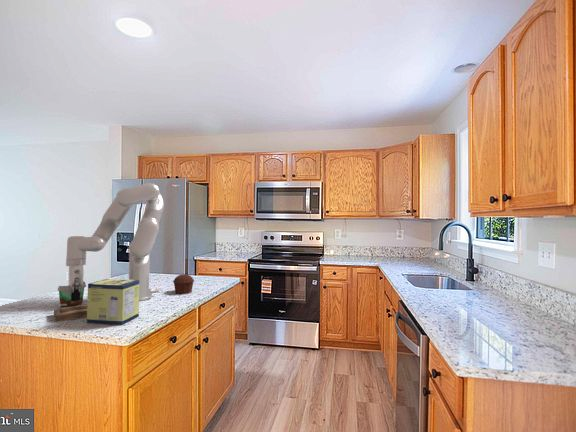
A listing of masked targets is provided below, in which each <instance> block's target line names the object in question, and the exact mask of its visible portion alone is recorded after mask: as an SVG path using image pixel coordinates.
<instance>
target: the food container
mask: <svg viewBox="0 0 576 432" xmlns="http://www.w3.org/2000/svg"><path fill="white" fill-rule="evenodd" d="M73 286H75V285H73ZM86 287H87V284H86V282H85V281H84V280H83V286H82V287H81V286H80V300H78V301H71V292H72V287H70V286H69V284H68V285H58V287H57V289H56V290H57V291H58V295H59V296H58V297H59V308H66V307H73V306H80V305H83V300H84V294H85V288H86Z"/></svg>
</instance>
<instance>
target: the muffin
mask: <svg viewBox="0 0 576 432" xmlns="http://www.w3.org/2000/svg"><path fill="white" fill-rule="evenodd" d="M194 281H195V280H194V278H193V277H192V276H191V275H190V274H186V273H185V274H183V273H182V274H179V275H177V276H176V277H175V278H174V280H172V284H174V293H175V294H176V295H187V294H191V293H192V290H193V285H194Z"/></svg>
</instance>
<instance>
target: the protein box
mask: <svg viewBox="0 0 576 432" xmlns="http://www.w3.org/2000/svg"><path fill="white" fill-rule="evenodd" d="M86 303H87V317H86V323H87V324H95V325H98V324H99V325H114V326H116V325H117V326H123V325H124V324H126V323H129V322H130V321H132V320H135V319H136V318H137V319H138V318H139V316H140V314H139V313H140V301H139V280H129V279H120V278H119V279H116V278H105V279H102V280H98V281H94V282H89V283H87V301H86Z"/></svg>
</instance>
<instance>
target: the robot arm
mask: <svg viewBox="0 0 576 432" xmlns="http://www.w3.org/2000/svg"><path fill="white" fill-rule="evenodd" d="M160 191H161V190H160V188H159V186H158V185H156V184H155V183H153V182H152V183H151V182H148V183H143V184H139V185H135V186H131V187H126V188H122V189H120V190H118V192H117V193H116V196H115V198H114V199H113V200H112V202H111V204H110V205H109V207H107V210H105V212H104V213H103V216H102V218H101V221H100V223H99V224H98V227H97V228H96V229H95V231H94V232H93V234H92V235H91V236H84V235H83V236H82V235H75V236H73V235H72V236H69V237H67V241H66V242H67V243H66V257H65V258H66V260H65V266H66V267H68V285H69V286H70V287H72V292H71V301H78V300H80V286H81V287H82V286H83V281H84V266H85V265H87V263H86V262H87V261H86V260H87V252H93V253H94V252H95V253H97V252H100V251H102V250H104V248H105V247H106V245H107V243H108V242H109V241H110V239H111V238H112V236H113V235H114V233H115V231H116V230H117V229H118V227H119V226H120V225H121V224H122V223H123V221H124V220H125V217H127V214H128V213H129V212H130V210H131V209H132V207H133V206H134V205H136V204H140V203H143V202H144V203H145V202H146V206H145V209H144V212H143V214H142V217H141V219H140V221H139V222H138V224H137V225H138V226H137V229H136V231H135V234H134V237H133V239H132V240H131V242H130V244H129V247H128V248H129V250H128V251H129V253H128V255H129V256H128V257H129V258H128V260H129V261H128V262H129V264H128V280H139V302H141V301H145V300H146V301H147V300H149V299H151V298H152V297H153V295H152V294H157V293H159V292H160V291H159V288H150V267H151V266H150V265H151V264H150V263H151V262H150V260H151V259H150V258H151V257H150V256H151V255H150V254H151V251H152V249H153V247H154V244H155V242H156V239H157V236H158V234H159V230H160V225H159V224H160V220H161V218H162V215H163V211H164V208H165V202H164V199H163V196H162V194H161V192H160ZM73 285H75V286H73Z"/></svg>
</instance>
